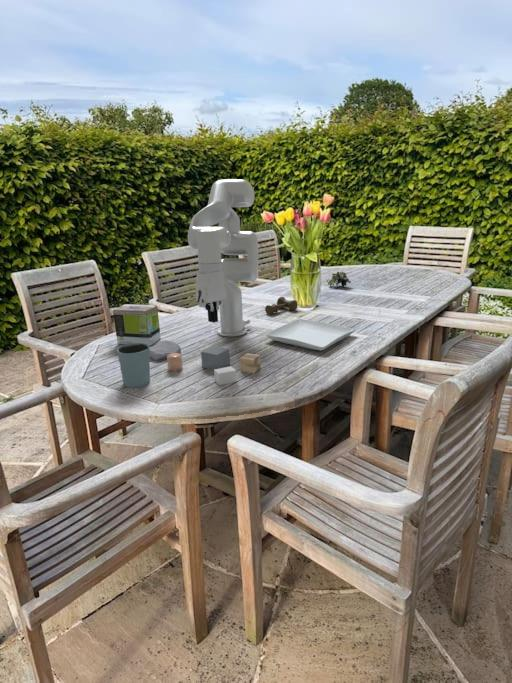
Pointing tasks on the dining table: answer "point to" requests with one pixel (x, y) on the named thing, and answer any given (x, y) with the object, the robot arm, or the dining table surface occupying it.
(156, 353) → the stone block
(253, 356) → the oak cube
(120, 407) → the dining table surface
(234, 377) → the pale grey block
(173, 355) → the terracotta cylinder
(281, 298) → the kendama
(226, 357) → the slate block
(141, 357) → the blue-grey cup
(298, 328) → the square plate
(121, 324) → the tea box
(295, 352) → the dining table surface
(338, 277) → the miniature tree
